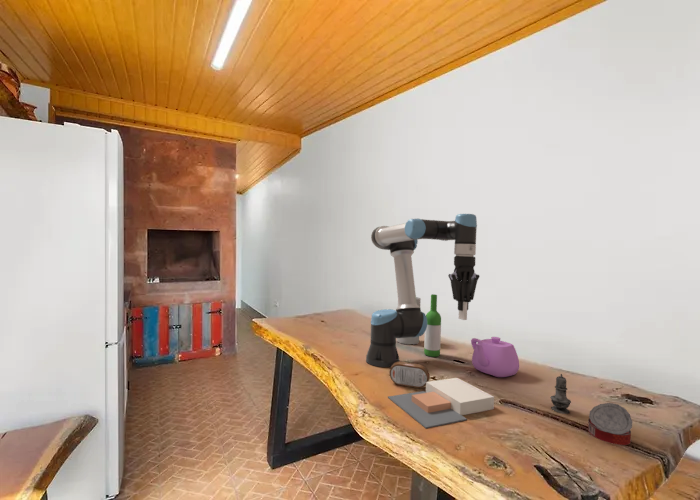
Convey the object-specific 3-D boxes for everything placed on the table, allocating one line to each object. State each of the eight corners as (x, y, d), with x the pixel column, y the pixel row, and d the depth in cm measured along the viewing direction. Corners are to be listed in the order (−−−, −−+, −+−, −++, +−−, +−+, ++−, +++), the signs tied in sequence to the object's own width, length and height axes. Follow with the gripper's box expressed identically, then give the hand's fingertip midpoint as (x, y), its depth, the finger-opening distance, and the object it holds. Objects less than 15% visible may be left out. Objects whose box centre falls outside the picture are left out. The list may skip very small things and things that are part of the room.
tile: (411, 401, 117) (411, 395, 117) (433, 397, 120) (433, 391, 120) (427, 412, 108) (427, 406, 108) (450, 408, 112) (450, 402, 112)
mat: (387, 397, 120) (387, 396, 120) (424, 392, 126) (424, 390, 126) (425, 428, 99) (425, 427, 99) (466, 420, 105) (466, 418, 105)
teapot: (481, 361, 165) (483, 329, 165) (524, 375, 147) (526, 339, 147) (449, 368, 152) (450, 334, 152) (492, 385, 135) (493, 346, 135)
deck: (425, 393, 125) (426, 382, 125) (456, 388, 130) (456, 377, 130) (460, 415, 108) (460, 402, 108) (493, 409, 114) (494, 396, 114)
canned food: (631, 457, 97) (650, 434, 92) (597, 454, 96) (616, 431, 91) (604, 421, 107) (621, 399, 102) (573, 417, 106) (589, 395, 101)
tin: (429, 387, 130) (430, 365, 130) (428, 390, 127) (429, 367, 127) (390, 381, 135) (390, 359, 135) (388, 384, 132) (389, 362, 132)
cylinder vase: (405, 338, 204) (407, 295, 204) (423, 342, 195) (425, 298, 195) (392, 341, 196) (393, 297, 196) (409, 346, 187) (411, 299, 187)
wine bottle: (439, 353, 175) (441, 294, 175) (440, 358, 167) (442, 296, 167) (423, 352, 176) (425, 293, 176) (424, 356, 169) (426, 295, 169)
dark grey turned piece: (570, 416, 110) (572, 378, 111) (549, 411, 114) (550, 374, 114) (570, 409, 115) (571, 373, 116) (550, 404, 119) (551, 369, 119)
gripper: (457, 255, 122) (455, 322, 122) (485, 256, 128) (483, 320, 128) (444, 255, 129) (441, 318, 129) (471, 255, 134) (469, 316, 134)
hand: (462, 319), depth 128 cm, fingers closed
